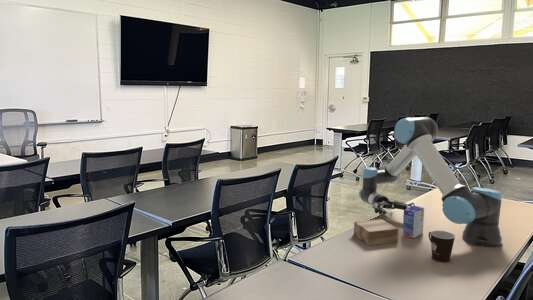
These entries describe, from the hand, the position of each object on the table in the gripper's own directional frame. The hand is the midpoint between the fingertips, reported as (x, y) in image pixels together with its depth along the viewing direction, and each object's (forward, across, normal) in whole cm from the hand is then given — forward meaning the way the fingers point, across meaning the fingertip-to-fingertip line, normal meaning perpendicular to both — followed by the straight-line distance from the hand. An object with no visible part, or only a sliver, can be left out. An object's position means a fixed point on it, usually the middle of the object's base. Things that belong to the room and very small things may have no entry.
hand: (403, 213), depth 186 cm
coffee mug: (+31, +5, -8) cm, 33 cm away
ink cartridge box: (+8, 0, -8) cm, 11 cm away
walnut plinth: (+7, +19, -7) cm, 21 cm away
